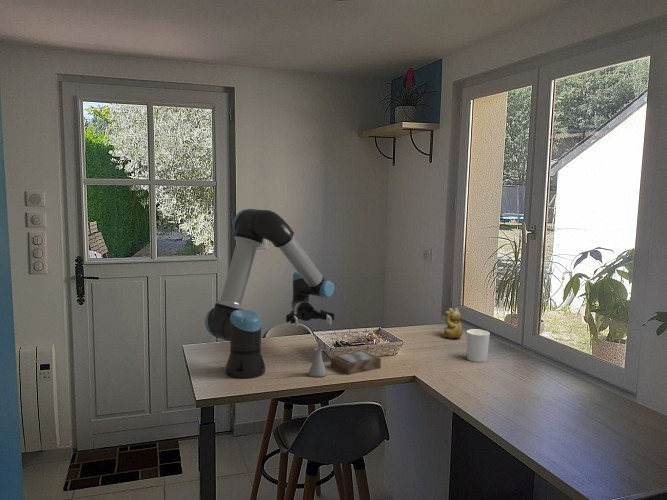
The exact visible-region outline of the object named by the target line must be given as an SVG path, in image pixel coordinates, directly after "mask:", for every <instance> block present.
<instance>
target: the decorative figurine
mask: <svg viewBox="0 0 667 500" xmlns="http://www.w3.org/2000/svg"><path fill="white" fill-rule="evenodd" d="M444 314H445V315H446V318H445V323H446V325H447V327H445V328H444V329H443V337H445V338H446V337H448V338H447V339H449V338H450V339H449V340H451V339H453V340H458V339H457V338H459V339H460V338H461V337H462V335H463V326H462V323H461V319H462V314H461V313H460V310H459V308H458V307H455V308H454V309H453V308H452V307H449V308H448V310H446V311H444Z"/></svg>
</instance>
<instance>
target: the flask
mask: <svg viewBox="0 0 667 500" xmlns="http://www.w3.org/2000/svg"><path fill="white" fill-rule="evenodd" d="M313 350H314V355H313V356H314V357H313V360H312V363H311V365H310V369H309V371H308V375H309V376H310V377H315V378H321V377H322V378H323V377H325V376H327V375H328V373H327V369H326V367H325V364H324V361H323V355H322V354H323V353H322V352H323V348H320V347H316V348H314V349H313Z"/></svg>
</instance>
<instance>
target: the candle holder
mask: <svg viewBox="0 0 667 500" xmlns="http://www.w3.org/2000/svg"><path fill="white" fill-rule="evenodd" d="M490 335H491V333H490V331H487V330H485V329H480V328H479V329H476V328H474V329H472V328H471V329H467V330H466V359H467V360H468V361H471V362H475V363H484V362H487V360H488V354H489V353H488V352H489V344H490Z"/></svg>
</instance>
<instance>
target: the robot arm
mask: <svg viewBox="0 0 667 500" xmlns="http://www.w3.org/2000/svg"><path fill="white" fill-rule="evenodd" d="M232 221H233V222H232V228H233V232H234V233H235V234H234V240H235V241H236V244H235V247H234V250H233V251H234V252H233V254H232V258H231V261H230V265H229V268H228V272H227V276H226V279H225V282H224V285H223V289H222V293H221V296H220V298H219V300H217V301H215V303H214V307H212V308H211V309H210V310H209V311H208V312H207V314H206V315H205V319H204V325H205V329H206V331H207V332H208V333H209V334H210V335H211V336H213V337H215V338H216V339H221V340H224V341H228V342H230V343H229V345H230V347H229V348H230V351H229V355H228V358H227V362H226V364H225V374H226V376H228V377H231V378H234V379H235V378H236V379H253V378H257V377H260V376H263V375H264V374H265V373H266V364H265V361H264V358H263V355H262V325H263V324H262V317H261V315H260V314H259V313H257V312H256V311H254V310H250V309H249V310H247V309H244V306H243V305H242V304H243V299H244V297H245V296H244V295H245V292H246V288H247V285H248V282H249V278H250V275H251V271H252V267H253V264H254V260H255V257H256V253H257V249H258V248H260V247H262V245H263V242H264V240H267V241H268V242H271V244H272V245H273V246H274V247H275V248H279V250H280V251H281V252H282V254H283V255H284V256H285V257H286V259H287V260H288V262H290V264H291V265H292V266H293V268H294V269H295V270H296V271H294V272H293V274H292V301H291V304H290V305H291V308H292V310H291V311H290V312H289V313H287V315H286V316H285V317H286V319H285V322H286V323H289V322H290V324H291V325H293V324H294V325H295V326H296V327H299V320H301V321H303V322H306V321H307V322H308V321H310V320H312V319H313V320H318V319H320V320H324V321H326V322H327V323H328V325H332V322H333V321H334V320H335V313H334V312H333V313H332V312H330V311H329V312H328V311H325V310H324V309H320V310H317V309H316V310H315V308H314V307H313V305H312V304H311V303H310V295H311V296H315V297H320V298H325V299H327V298H331V297H332V296H333V294H334V293H335V289H336V288H335V284H334V282H332V281H330V280H328V279H325V278H324V276H323V275H322V273H321V272H320V271H319V269H318V268H317V266H316V265H315V263H313V261H312V260H311V258H310V257H309V256H308V254H307V253H306V251H305V249H303V247H302V246H301V244H300V243H299V242H298V241H297V239H296V238H295V231H294V230H293V229H292V228H291V226H290V225H289V224H288V223H287V222H286V220H285V219H284V218H282V217H281V216H280V215H279V214H278V213H276V212H275V211H272V210H270V209H256V208H246V209H242V210H240V211H239V212H237V213H236V215H235V216H234V218H233V220H232Z"/></svg>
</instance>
